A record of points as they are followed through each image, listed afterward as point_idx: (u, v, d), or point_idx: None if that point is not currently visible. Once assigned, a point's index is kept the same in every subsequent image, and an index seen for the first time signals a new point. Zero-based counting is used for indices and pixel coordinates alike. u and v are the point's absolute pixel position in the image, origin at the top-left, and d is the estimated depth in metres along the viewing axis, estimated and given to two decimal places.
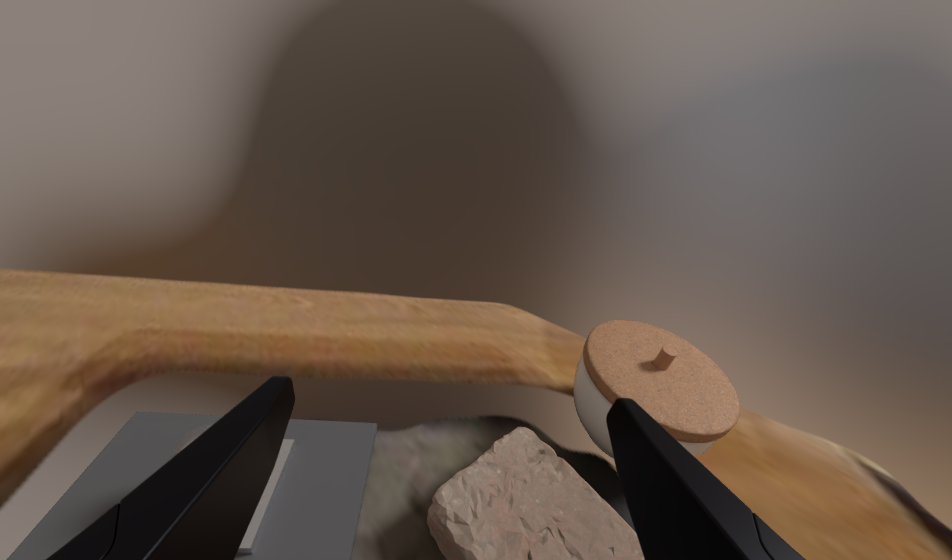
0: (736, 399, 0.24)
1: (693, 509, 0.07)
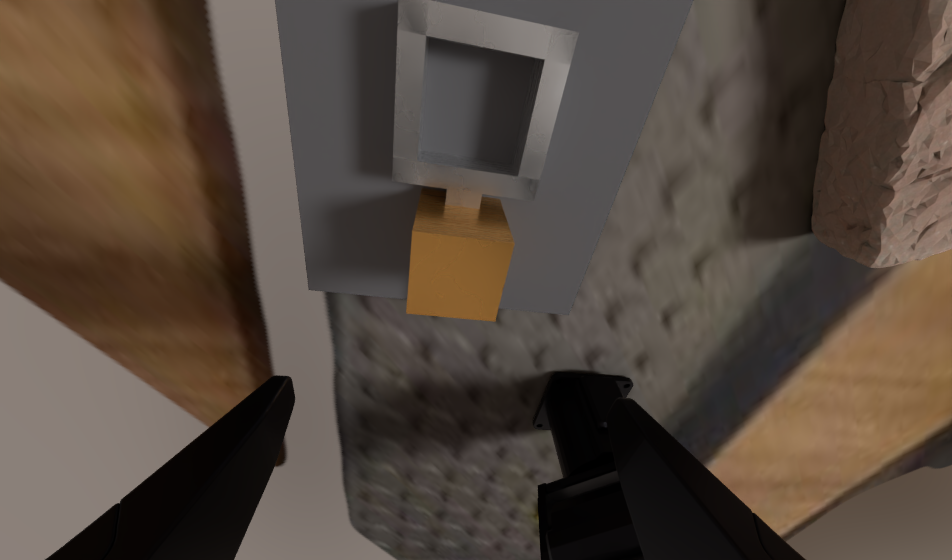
0: None
1: (693, 509, 0.07)
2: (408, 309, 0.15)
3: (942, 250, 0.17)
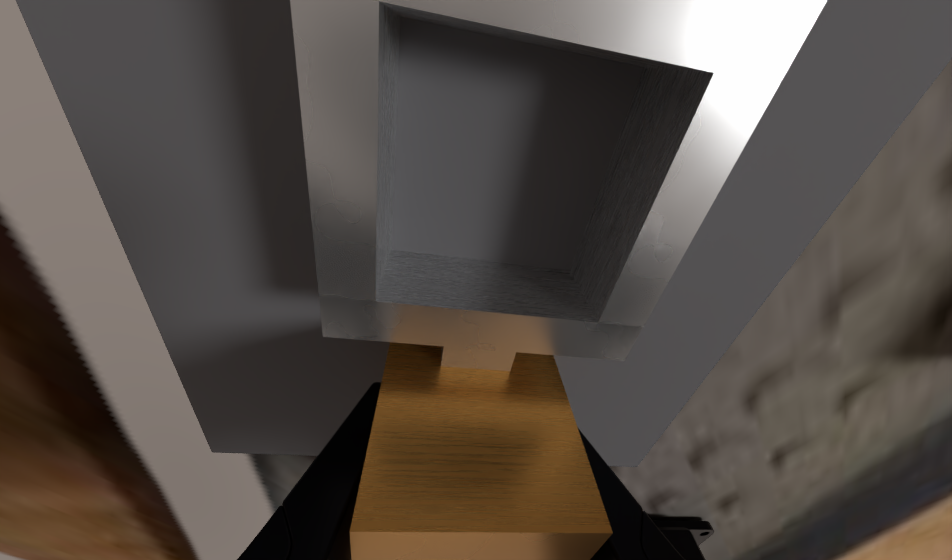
0: None
1: None
2: None
3: None
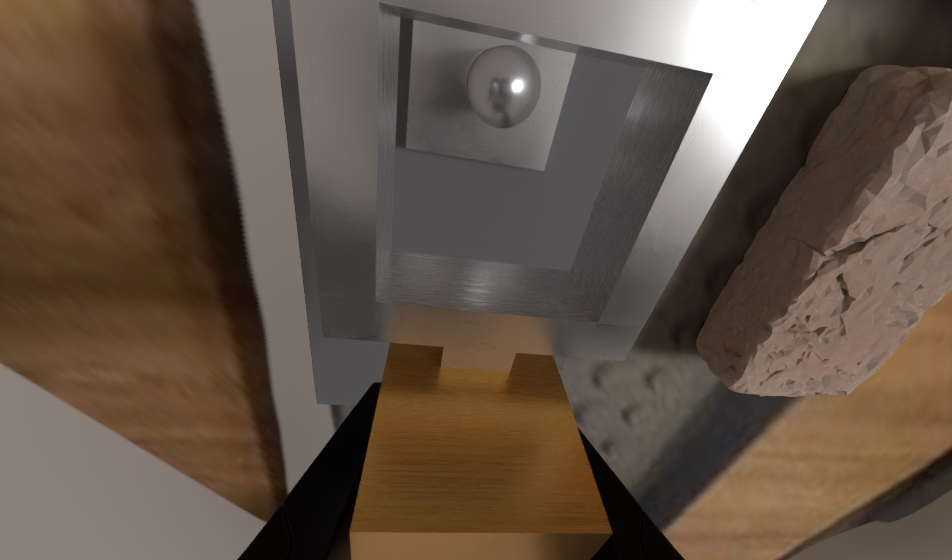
0: None
1: None
2: None
3: (776, 394, 0.20)
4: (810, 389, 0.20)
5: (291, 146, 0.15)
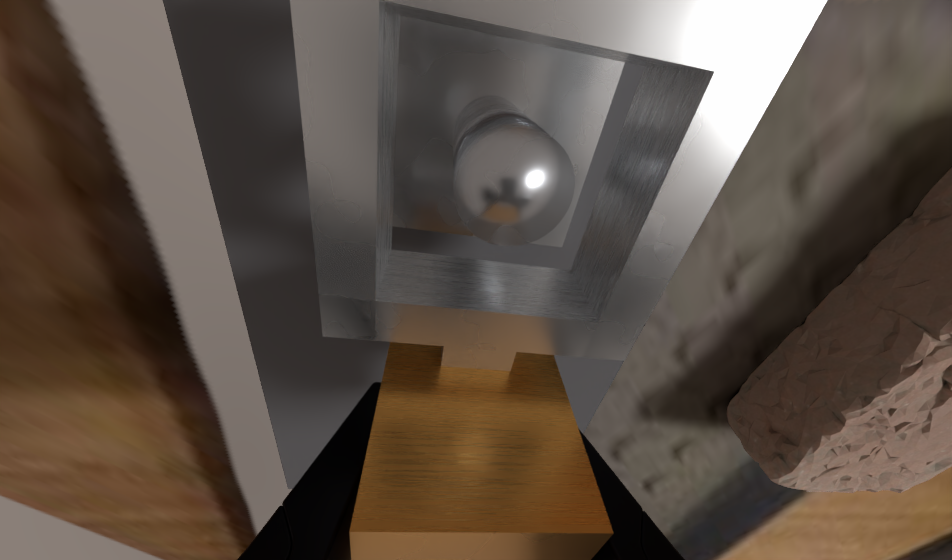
0: None
1: None
2: None
3: (825, 490, 0.16)
4: (864, 486, 0.16)
5: (223, 219, 0.11)
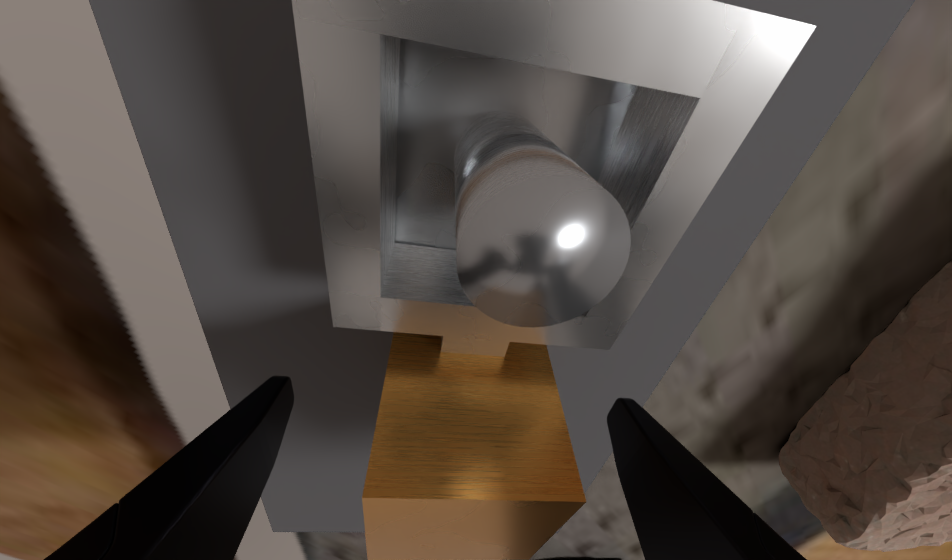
0: None
1: (694, 509, 0.07)
2: (371, 557, 0.08)
3: (905, 548, 0.15)
4: None
5: (182, 254, 0.09)
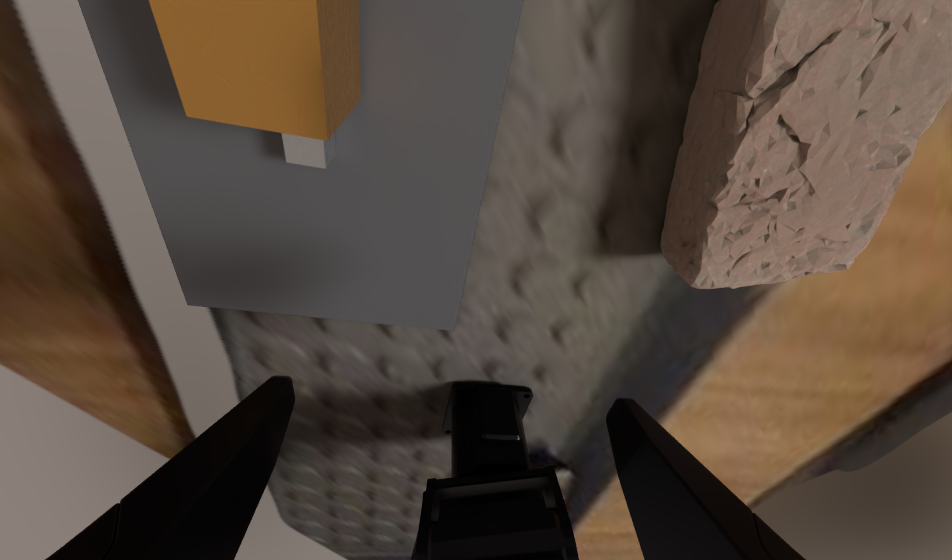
0: None
1: (693, 509, 0.07)
2: (187, 109, 0.10)
3: (751, 283, 0.17)
4: (795, 269, 0.17)
5: None
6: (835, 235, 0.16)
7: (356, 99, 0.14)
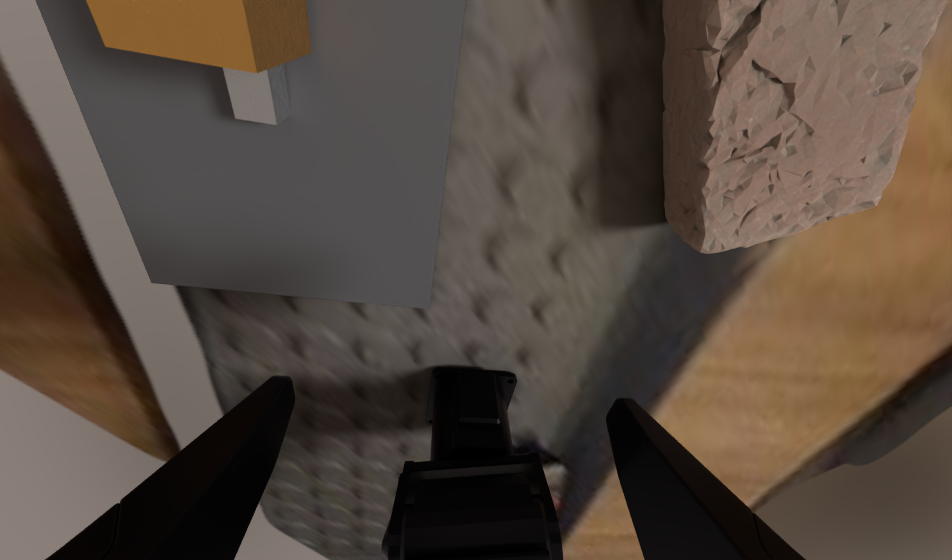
0: None
1: (693, 509, 0.07)
2: (105, 38, 0.10)
3: (766, 238, 0.16)
4: (813, 216, 0.16)
5: None
6: (851, 172, 0.15)
7: (304, 49, 0.13)
